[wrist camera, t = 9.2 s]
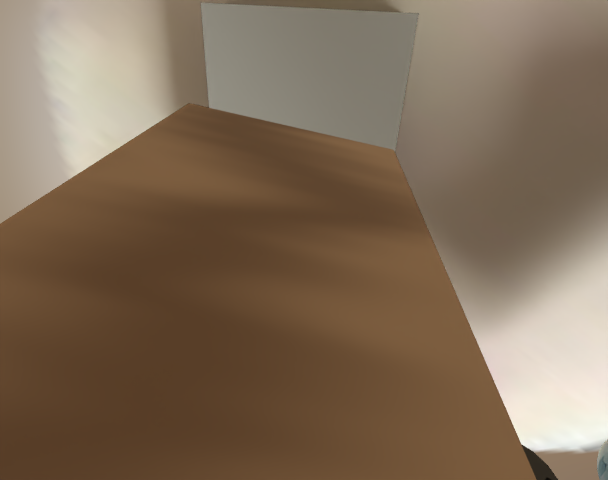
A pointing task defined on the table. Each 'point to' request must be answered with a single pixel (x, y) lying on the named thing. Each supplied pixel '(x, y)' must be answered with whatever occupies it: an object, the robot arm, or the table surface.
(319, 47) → the slate base block
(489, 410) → the walnut block
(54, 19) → the table surface
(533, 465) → the robot arm
